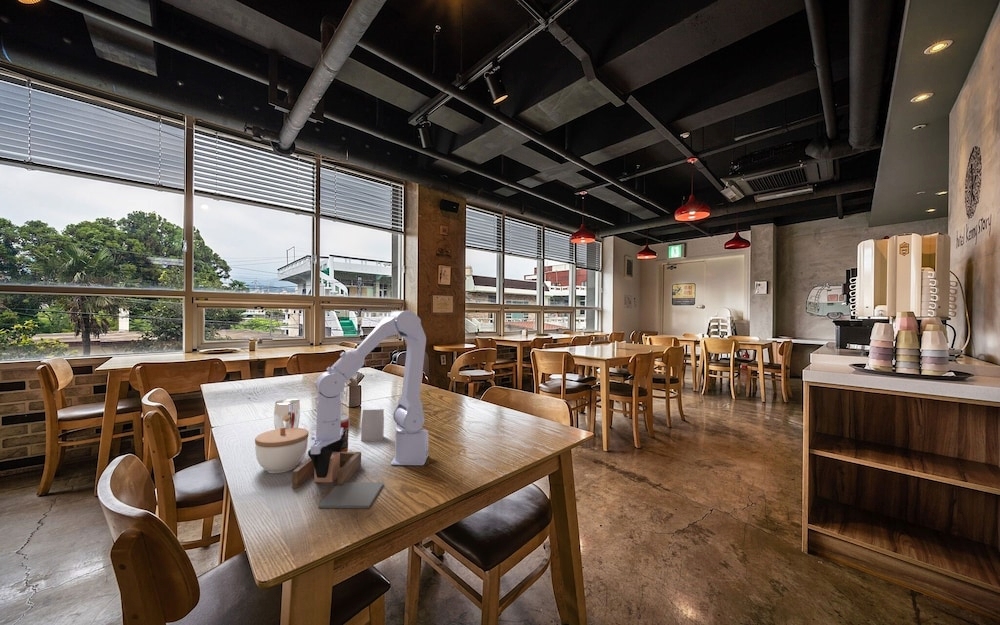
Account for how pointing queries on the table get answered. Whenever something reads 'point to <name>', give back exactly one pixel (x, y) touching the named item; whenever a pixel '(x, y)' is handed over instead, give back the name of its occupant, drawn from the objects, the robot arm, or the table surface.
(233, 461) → the table surface
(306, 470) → the brown piece
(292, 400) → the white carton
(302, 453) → the lidded bowl
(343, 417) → the canned food
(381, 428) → the grey rectangular block
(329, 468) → the block
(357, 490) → the coaster
